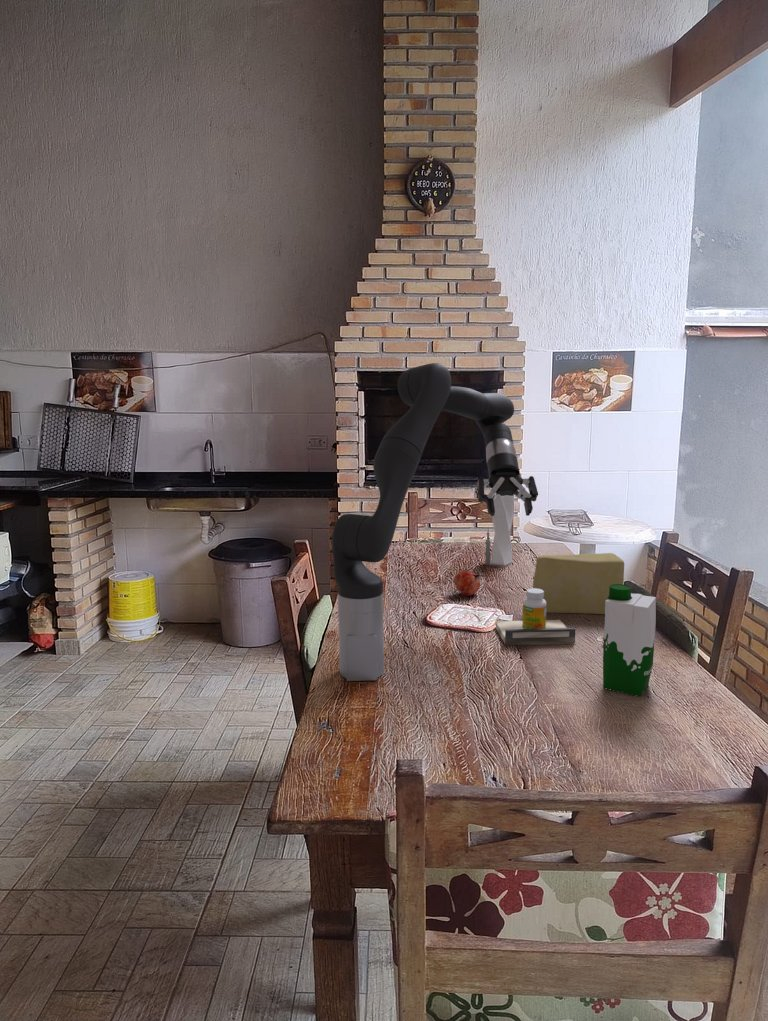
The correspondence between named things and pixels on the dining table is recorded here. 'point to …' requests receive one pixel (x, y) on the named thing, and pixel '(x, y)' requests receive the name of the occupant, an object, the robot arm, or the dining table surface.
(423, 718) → the dining table surface
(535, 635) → the shelf board
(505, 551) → the skyscraper
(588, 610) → the cheese
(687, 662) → the dining table surface
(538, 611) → the supplement bottle
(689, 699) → the dining table surface
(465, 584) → the pomegranate
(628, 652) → the milk carton
